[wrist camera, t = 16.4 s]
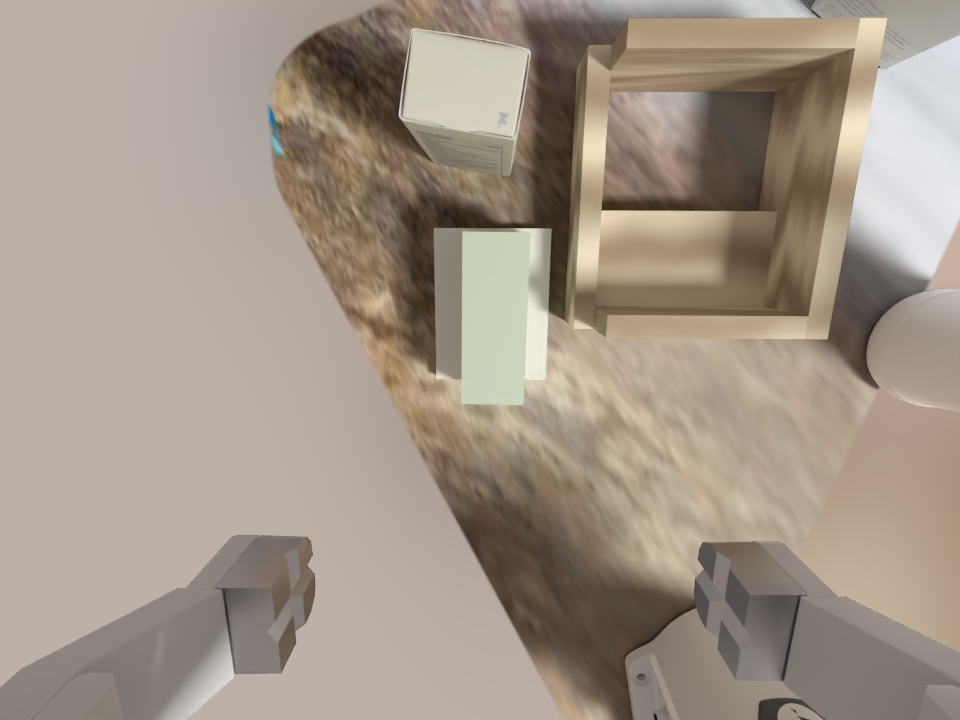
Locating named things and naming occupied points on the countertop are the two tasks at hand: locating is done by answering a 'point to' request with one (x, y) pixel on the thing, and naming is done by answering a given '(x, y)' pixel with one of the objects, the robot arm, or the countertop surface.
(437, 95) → the skincare box
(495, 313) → the block
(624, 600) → the countertop surface
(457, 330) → the mat
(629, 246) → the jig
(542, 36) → the countertop surface
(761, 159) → the countertop surface
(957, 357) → the vodka
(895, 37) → the supplement box
